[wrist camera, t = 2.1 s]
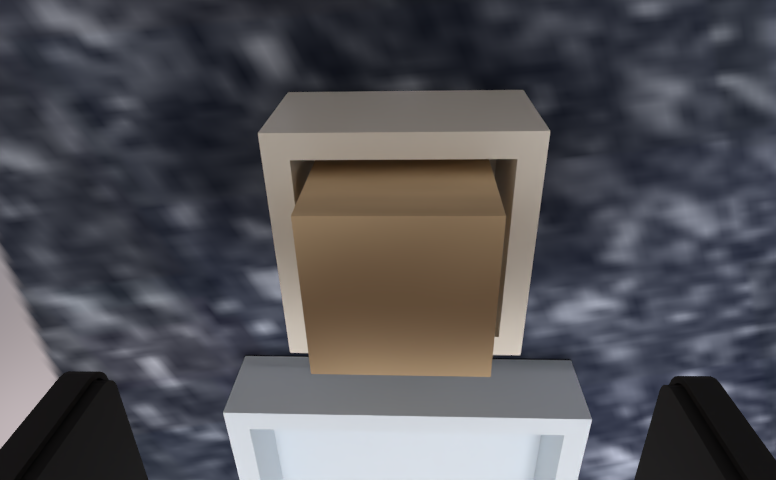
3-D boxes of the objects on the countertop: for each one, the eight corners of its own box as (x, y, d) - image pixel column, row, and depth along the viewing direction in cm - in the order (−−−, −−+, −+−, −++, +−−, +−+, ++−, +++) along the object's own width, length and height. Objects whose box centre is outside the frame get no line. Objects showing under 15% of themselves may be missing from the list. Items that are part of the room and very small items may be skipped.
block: (325, 135, 14) (290, 216, 10) (481, 134, 14) (506, 216, 10) (336, 265, 16) (310, 374, 12) (472, 266, 16) (490, 377, 12)
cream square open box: (290, 88, 14) (257, 133, 11) (520, 86, 14) (550, 130, 11) (311, 277, 17) (289, 352, 14) (501, 278, 17) (520, 355, 14)
